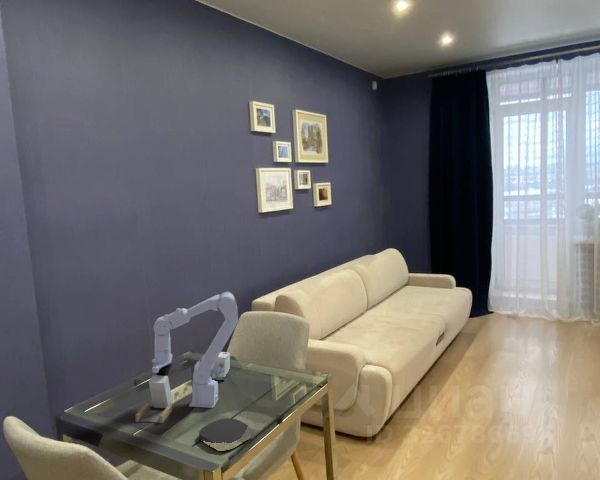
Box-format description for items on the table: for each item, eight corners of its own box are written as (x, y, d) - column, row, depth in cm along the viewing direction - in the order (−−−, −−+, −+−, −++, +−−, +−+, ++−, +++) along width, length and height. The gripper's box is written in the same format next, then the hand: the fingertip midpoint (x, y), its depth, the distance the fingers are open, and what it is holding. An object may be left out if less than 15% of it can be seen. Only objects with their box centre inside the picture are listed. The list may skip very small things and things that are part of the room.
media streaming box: (256, 437, 146) (256, 429, 146) (221, 456, 136) (221, 447, 135) (228, 422, 156) (228, 414, 156) (194, 438, 145) (194, 429, 145)
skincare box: (172, 400, 168) (168, 375, 164) (168, 408, 164) (164, 383, 160) (157, 399, 169) (152, 374, 164) (152, 407, 165) (148, 382, 160)
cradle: (172, 410, 163) (172, 404, 163) (162, 423, 154) (162, 416, 154) (146, 409, 164) (146, 402, 164) (135, 421, 155) (135, 414, 155)
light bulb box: (201, 379, 191) (201, 355, 190) (207, 373, 198) (207, 350, 197) (225, 381, 190) (225, 357, 188) (230, 375, 196) (230, 352, 195)
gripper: (160, 342, 173) (160, 375, 174) (144, 355, 158) (144, 391, 160) (177, 343, 172) (177, 376, 173) (162, 356, 158) (163, 392, 159)
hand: (163, 383), depth 166 cm, fingers closed
